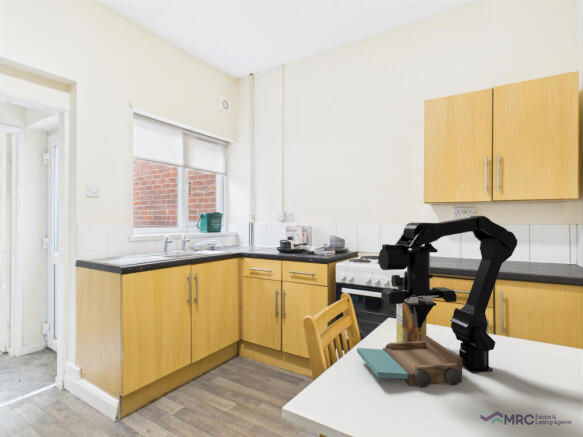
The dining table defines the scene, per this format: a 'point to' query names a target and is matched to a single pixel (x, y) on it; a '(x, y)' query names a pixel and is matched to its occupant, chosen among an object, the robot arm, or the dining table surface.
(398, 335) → the candy box
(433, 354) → the cart bed
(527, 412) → the dining table surface
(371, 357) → the panel
